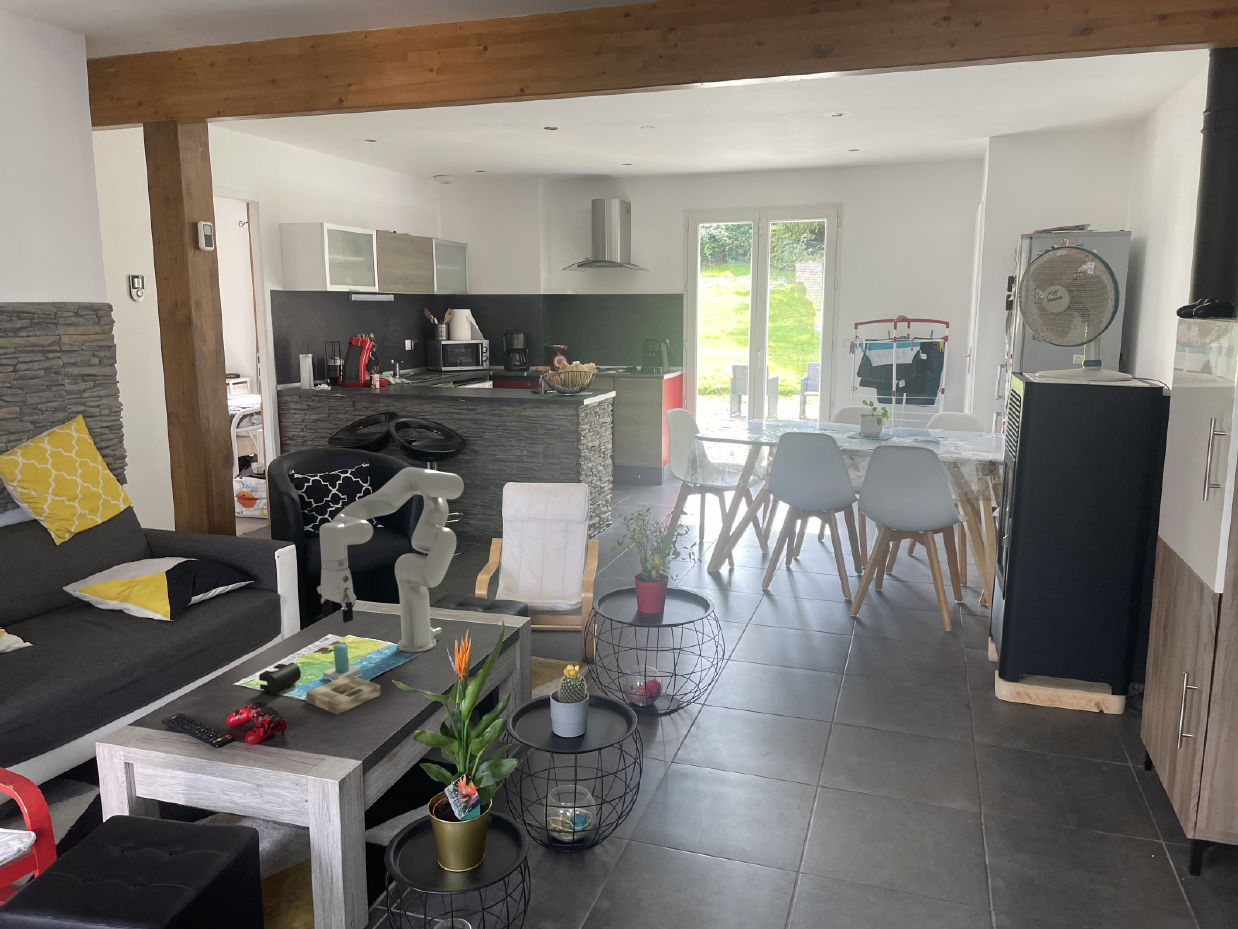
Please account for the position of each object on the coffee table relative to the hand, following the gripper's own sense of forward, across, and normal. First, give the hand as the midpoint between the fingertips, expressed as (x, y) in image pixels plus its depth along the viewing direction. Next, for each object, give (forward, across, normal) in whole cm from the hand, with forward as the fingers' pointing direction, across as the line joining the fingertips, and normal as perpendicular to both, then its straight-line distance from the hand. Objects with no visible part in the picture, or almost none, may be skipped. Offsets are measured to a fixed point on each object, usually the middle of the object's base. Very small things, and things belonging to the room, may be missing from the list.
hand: (337, 618), depth 265 cm
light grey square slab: (+19, 0, -1) cm, 19 cm away
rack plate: (+19, -13, +9) cm, 25 cm away
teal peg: (+17, 0, 0) cm, 17 cm away
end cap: (+20, +8, +15) cm, 26 cm away
